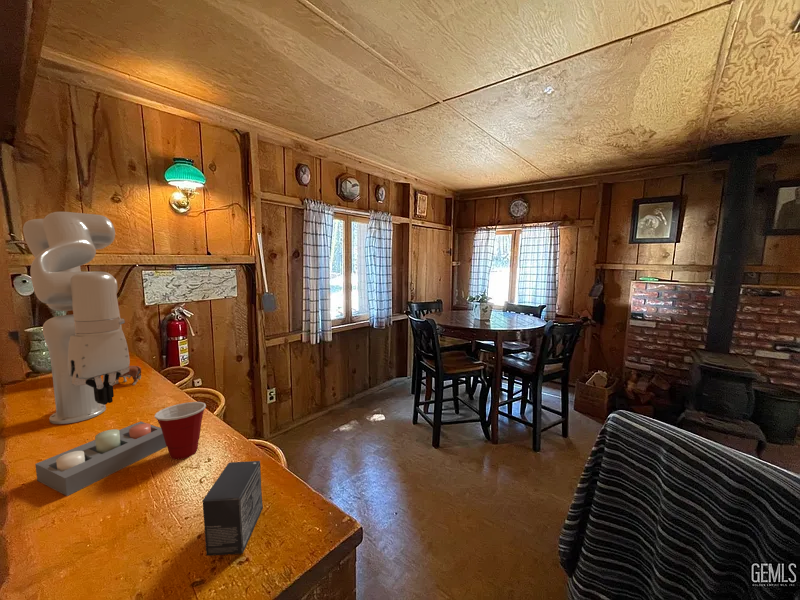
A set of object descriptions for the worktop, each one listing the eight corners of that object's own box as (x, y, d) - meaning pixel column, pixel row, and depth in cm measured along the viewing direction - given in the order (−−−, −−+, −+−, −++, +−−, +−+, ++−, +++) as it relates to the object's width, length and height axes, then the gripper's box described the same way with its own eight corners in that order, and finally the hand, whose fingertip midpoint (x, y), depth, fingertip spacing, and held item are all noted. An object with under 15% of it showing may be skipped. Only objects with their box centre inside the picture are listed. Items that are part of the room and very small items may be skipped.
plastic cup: (202, 436, 92) (199, 395, 90) (213, 453, 84) (211, 408, 83) (154, 452, 84) (150, 407, 83) (162, 472, 77) (158, 423, 75)
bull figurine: (117, 379, 133) (116, 359, 132) (145, 382, 130) (143, 362, 129) (106, 383, 129) (104, 363, 128) (134, 386, 126) (132, 366, 125)
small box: (230, 509, 66) (227, 460, 64) (263, 508, 66) (262, 459, 65) (203, 557, 55) (199, 499, 54) (243, 554, 56) (241, 497, 55)
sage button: (92, 455, 79) (90, 436, 78) (114, 445, 83) (112, 427, 82) (103, 459, 77) (101, 440, 77) (125, 449, 81) (123, 431, 81)
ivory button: (54, 479, 72) (51, 459, 72) (79, 468, 77) (77, 449, 76) (65, 485, 71) (62, 464, 70) (90, 473, 75) (88, 453, 74)
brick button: (126, 447, 85) (125, 429, 85) (145, 438, 89) (143, 422, 89) (137, 451, 84) (135, 433, 83) (155, 442, 88) (154, 425, 87)
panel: (37, 480, 73) (35, 463, 72) (141, 434, 92) (140, 421, 92) (67, 496, 68) (65, 478, 68) (170, 444, 88) (169, 430, 87)
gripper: (124, 320, 84) (130, 389, 86) (44, 331, 71) (54, 412, 73) (143, 322, 82) (148, 393, 84) (63, 334, 68) (73, 419, 70)
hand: (104, 402), depth 78 cm, fingers closed
